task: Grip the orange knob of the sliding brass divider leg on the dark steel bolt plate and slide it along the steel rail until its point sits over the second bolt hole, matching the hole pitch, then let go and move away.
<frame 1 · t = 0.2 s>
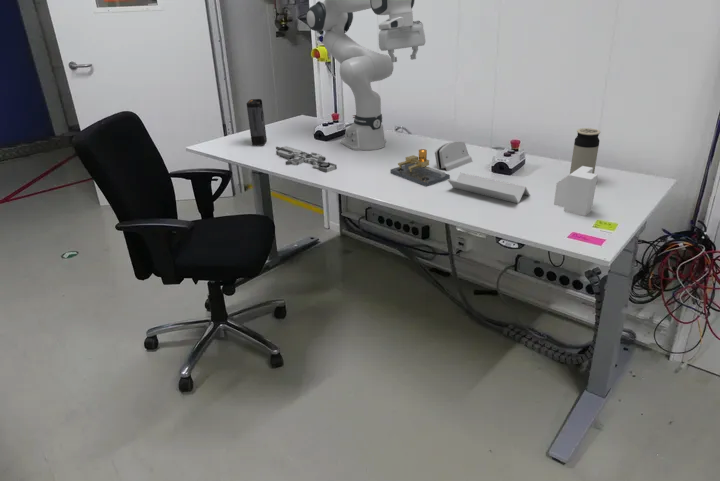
hand: (403, 60, 203), 39 cm above the table, tool pointing down, fingers open, 8 cm apart
travel mug: (580, 180, 188), on the table
gun: (300, 162, 222), on the table
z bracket: (487, 194, 181), on the table
sliding leg: (418, 161, 197), point 6 cm above the table, slide at 0.0 cm
electronic device: (259, 144, 248), on the table
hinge: (452, 165, 210), on the table
bolt plate: (419, 175, 199), on the table
corner bracket: (573, 207, 168), on the table
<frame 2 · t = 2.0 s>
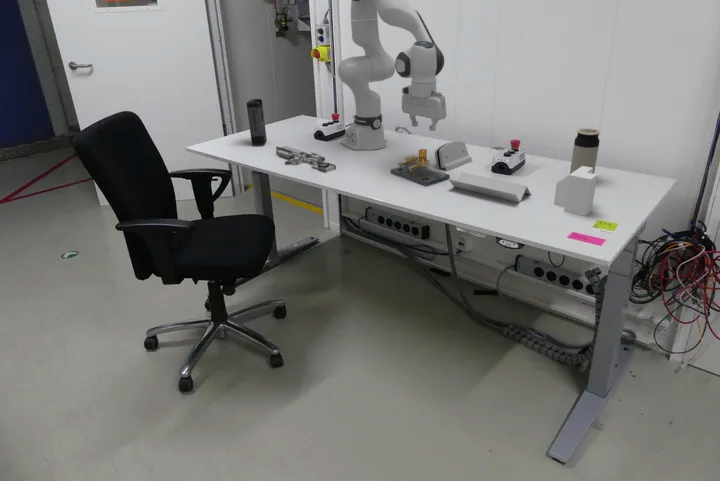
hand: (423, 128, 193), 18 cm above the table, tool pointing down, fingers open, 8 cm apart
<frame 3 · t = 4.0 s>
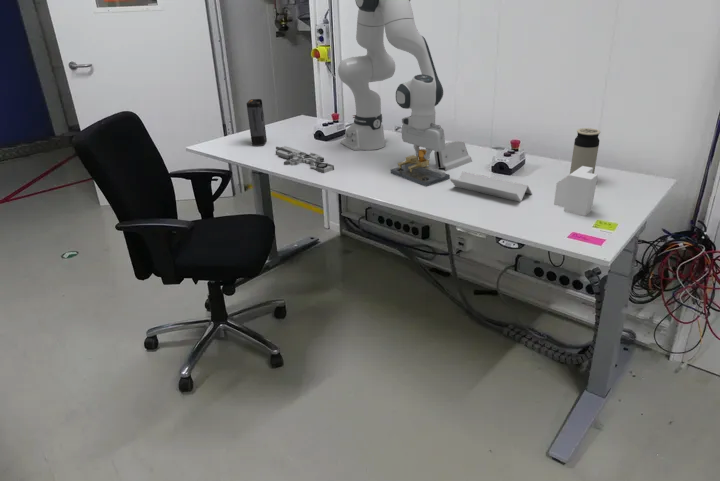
hand: (422, 157, 198), 6 cm above the table, tool pointing down, fingers closed on sliding leg, 3 cm apart
sliding leg: (418, 161, 197), point 6 cm above the table, slide at 0.0 cm, touching gripper
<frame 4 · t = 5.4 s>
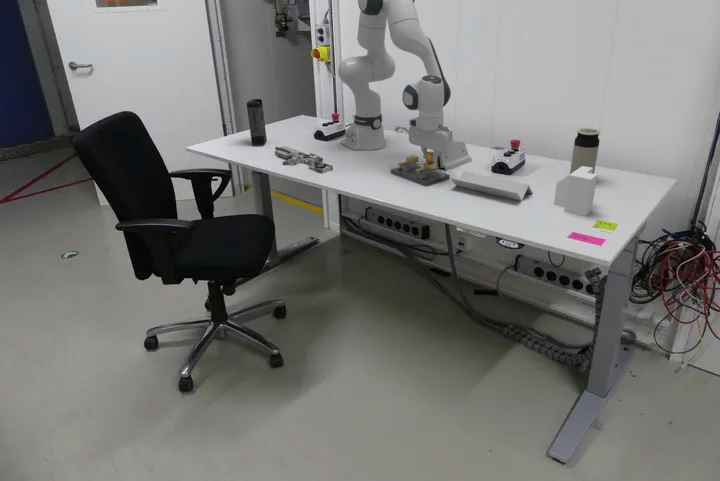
hand: (430, 159, 195), 7 cm above the table, tool pointing down, fingers closed on sliding leg, 3 cm apart
sliding leg: (425, 163, 194), point 6 cm above the table, slide at 4.1 cm, touching gripper
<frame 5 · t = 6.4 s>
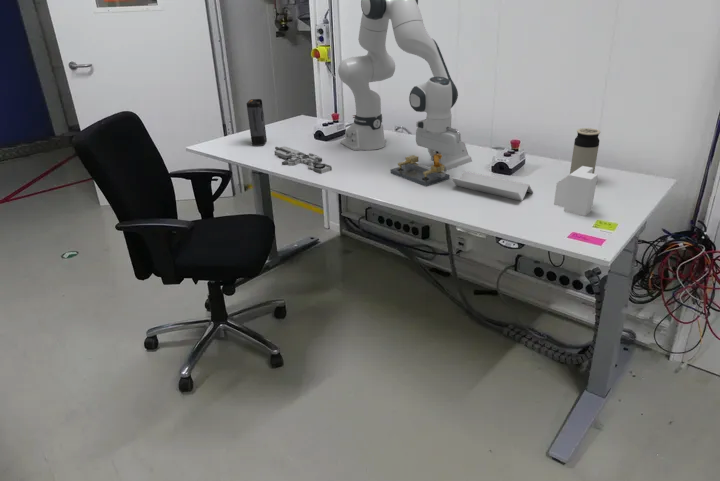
hand: (437, 162, 192), 7 cm above the table, tool pointing down, fingers closed on sliding leg, 3 cm apart
sliding leg: (433, 166, 192), point 6 cm above the table, slide at 8.1 cm, touching gripper
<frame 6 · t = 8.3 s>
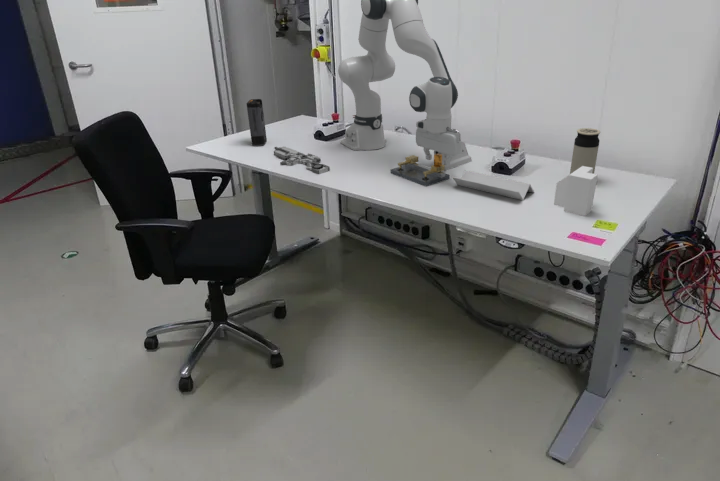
hand: (437, 162, 192), 6 cm above the table, tool pointing down, fingers open, 8 cm apart
sliding leg: (433, 166, 191), point 6 cm above the table, slide at 8.1 cm
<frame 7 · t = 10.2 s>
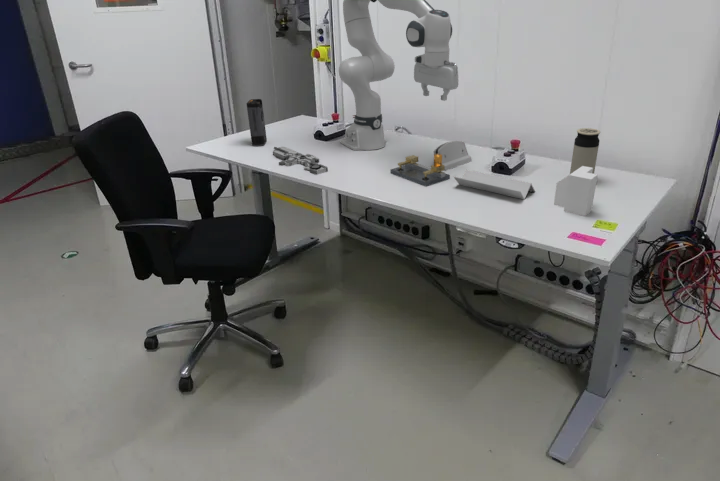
hand: (434, 97, 195), 27 cm above the table, tool pointing down, fingers open, 8 cm apart
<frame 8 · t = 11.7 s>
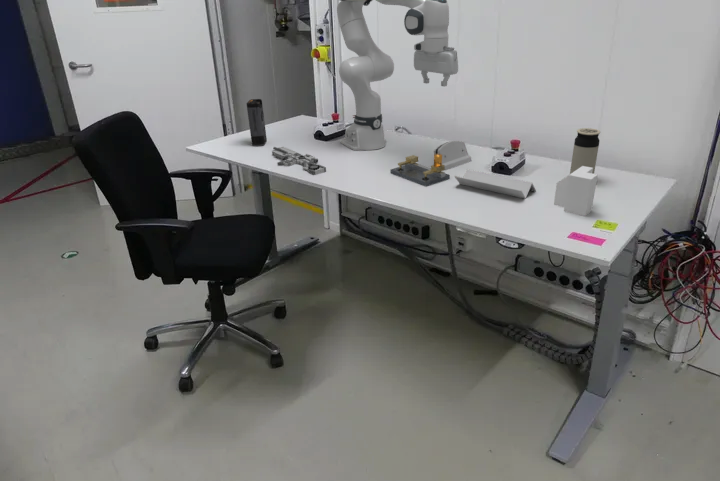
hand: (435, 84, 197), 31 cm above the table, tool pointing down, fingers open, 8 cm apart
at the end: sliding leg slide at 8.1 cm; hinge moved 1.1 cm from its start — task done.
